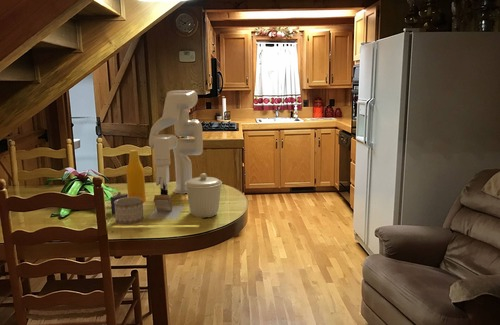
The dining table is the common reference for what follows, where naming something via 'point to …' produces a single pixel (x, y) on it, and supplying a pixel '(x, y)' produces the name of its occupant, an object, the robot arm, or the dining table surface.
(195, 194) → the canister
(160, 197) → the slab
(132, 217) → the planter
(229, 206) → the dining table surface
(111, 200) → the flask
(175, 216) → the board
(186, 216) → the dining table surface
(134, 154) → the beer bottle
